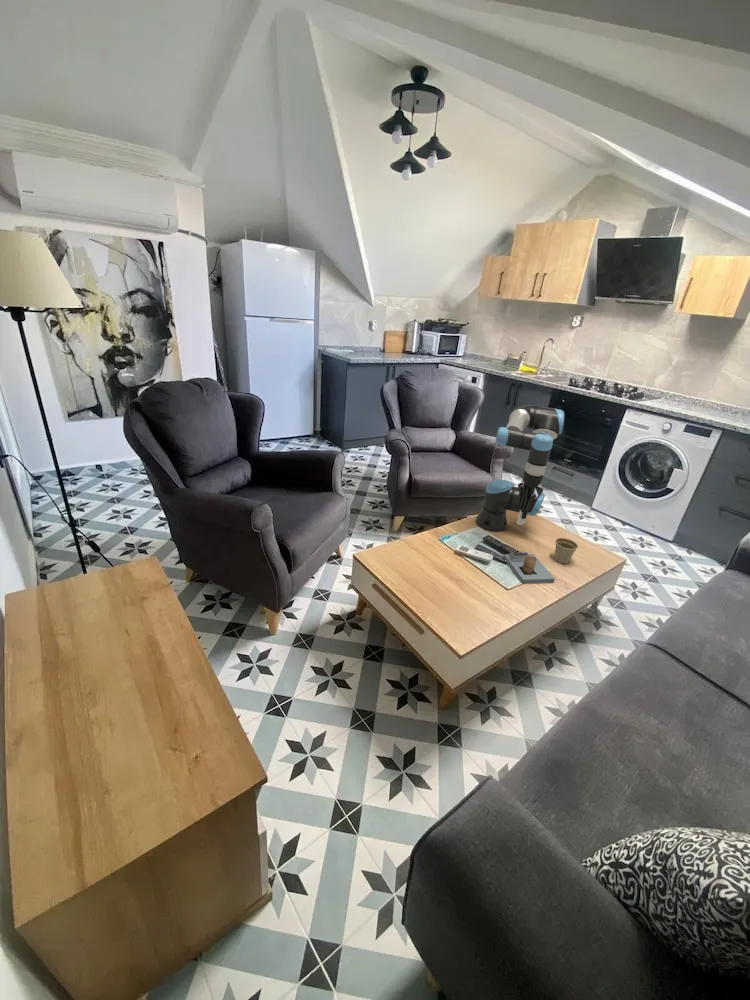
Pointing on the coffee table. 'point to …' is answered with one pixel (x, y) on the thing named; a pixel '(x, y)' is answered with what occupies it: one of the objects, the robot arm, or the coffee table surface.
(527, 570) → the walnut peg
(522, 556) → the bar
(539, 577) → the housing plate
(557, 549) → the flower pot
